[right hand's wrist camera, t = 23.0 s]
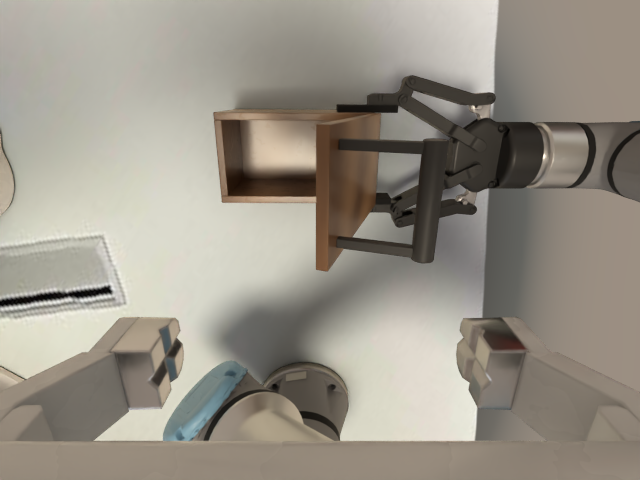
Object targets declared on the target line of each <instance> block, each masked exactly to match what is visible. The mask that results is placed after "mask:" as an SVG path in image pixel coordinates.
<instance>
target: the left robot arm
mask: <svg viewBox="0 0 640 480" xmlns="http://www.w3.org/2000/svg"><path fill="white" fill-rule="evenodd" d="M413 91H417V92H420V93H423V94H427V95H430V96H433V97H437V98H440V99H443V100H447V101H450V102H453V103H457V104H460V105H469V111H470V112H472V113H475V114H476V115H477V119H476V120H474V121H473V122H471V123H470V124H468V125H467V126H465V127H464V128H461V127H460V126H458V125H456V124H454V123H452V122H451V121H449V120H448V119H446V118H444V117H443V116H441V115H440V114H438V113H436V112H435V111H433V110H432V109H430V108H428V107H427V106H425V105H424V104H422V103H420V102H419V101H417V100H416V99H414V98H412V97H411V95H412V93H413ZM495 99H496V97H495V94H493V93H474V94H473V93H470V92H466V91H463V90H460V89H456V88H453V87H450V86H447V85H443V84H440V83H437V82H434V81H430V80H427V79H424V78H420V77H417V76H413V75H412V76H408V77H405V78H404V79H403V80H402V85H401V87H400V89H399V91H398V92H397V93H395V94H370V95H368V96H367V105H337V112H373V113H398V106H400V107H402V108H403V109H405V110H407V111H408V112H410V113H412V114H413V115H415V116H416V117H418V118H420V119H421V120H423V121H425V122H426V123H428V124H429V125H431V126H433V127H434V128H436V129H438V130H439V131H441V132H442V133H443V134H445V135H447V136H448V137H450V140H449V145H448V153H447V160H446V169H445V176H444V184H443V190H445V189H449V188H452V187H454V186H456V185H458V184H460V185H462V186H463V187H464V188H465V189H466V192H465V193H464V194H461V195H458V196H456V199H448V200H443V201H441V207H440V214H439V218H441V217H445V216H449V215H453V214H467V215H473V214H475V213H476V211H477V208H476V206H475V205H474V203H475V199H476V195H477V192H480V191H481V190H484V189H487V188H524V187H527V188H593V189H602V190H606V191H610V192H613V193H616V194H619V195H621V196H623V197H626V198H629V199H632V200H635V201H638V202H640V121H631V122H611V123H575V122H538V123H535V124H533V123H531V122H495V121H493V120H492V119H490V106H491V104H492V103H494V101H495ZM417 194H418V185H417V186H415V187H413V188H411V189H409V190H407V191H405V192H403V193H401V194H399V195H397V196H395V197H394V198H392V199H391V198H390V196H389V195H388V193H376V203H375V206H374V207H373V209H372V210H371V211H370V212H388V213H390V214H391V218H392V220H393V222H394V224H395V225H396V226H397V227H399V228H400V227H405V226H409V225H413V224H414V222H415V213H416V207H415V208H411V209H407V208H409V207H411V206H413V205H415V204H416V203H417ZM405 209H407V210H405ZM247 371H248V370H247V368H243V367H242V366H241V365H240V364H239V363H237V362H235V361H226V362H224V363H222V364H220V365H218V366H217V367H215V368H214V369H212V370H211V371H210V372H209V373H207V374H206V375H205V376H204V377H203V378H202V379H201V380H200V381H199V382H198V383H197V384H196V385H195V386H194V387H193V388H192V389H191V390H190V391H189V393H188V394H187V395H186V396H185V397H184V399H183V400H182V401H181V402H180V404H179V405H178V406H177V408H176V409H175V411H174V412H173V414H172V416H171V417H170V419H169V421H168V422H167V425H166V427H165V430H164V433H163V441H340V433H341V430H342V427H343V424H344V421H345V417H346V414H347V411H348V393H347V389H346V386H345V384H344V382H343V381H342V379H341V378H340V377H339V376H338V375H337V374H336V373H335V372H333V371H332V370H330V369H328V368H326V367H324V366H321V365H318V364H314V363H294V364H290V365H286V366H284V367H282V368H280V369H278V370H276V371H275V372H273V373H272V374H271V375H270V376H269V377H268V378H267V380H266V381H265V383H264V385H263V386H262V385H261V384H260V383H259V382H257V381H256V380H255V379H254V378H253V377H252V376H251V375H250V374H249V373H248V372H247Z"/></svg>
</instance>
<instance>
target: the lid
mask: <svg viewBox="0 0 640 480" xmlns="http://www.w3.org/2000/svg"><path fill="white" fill-rule="evenodd" d="M380 123H381V113H372V114H367V115H362V116H356V117H351V118H346V119H341V120H336V121H331V122H326V123H320V124H316V270H321V271H328V270H329V269H330V268H331V266H332V265H333V263H334V262H335V260H336V259H337V258H338V256H339V255H340V253H341V252H342V251H343V249H350V250H358V251H365V252H373V253H381V254H388V255H396V256H403V257H411V259H412V260H413V261H415V262H418V263H431V262H432V261H433V260H434V253H435V245H436V237H437V230H438V222H439V214H440V207H441V199H442V191H443V184H444V176H445V168H446V160H447V153H448V145H449V141H448V140H446V139H424V140H423V141H402V140H379V139H380ZM379 152H389V153H410V154H422V156H421V165H420V175H419V184H418V194H417V203H416V213H415V222H414V232H413V241H412V245H410V244H402V243H393V242H385V241H377V240H369V239H360V238H352V237H353V235H354V234H355V232H356V231H357V230H358V228H359V227H360V225H361V224H362V223H363V221H364V220H365V218H366V217H367V216H368V214H369V213H370V211H371V210H372V209H373V207H374V206H375V203H376V187H377V171H378V155H379Z"/></svg>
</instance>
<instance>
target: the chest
mask: <svg viewBox="0 0 640 480" xmlns="http://www.w3.org/2000/svg"><path fill="white" fill-rule="evenodd" d="M372 113H373V112H337V110H281V109H233V110H227V111H220V112H214V124H215V134H216V144H217V155H218V165H219V176H220V186H221V197H222V203H316V124H320V123H326V122H331V121H336V120H341V119H346V118H351V117H356V116H362V115H367V114H372Z"/></svg>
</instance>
